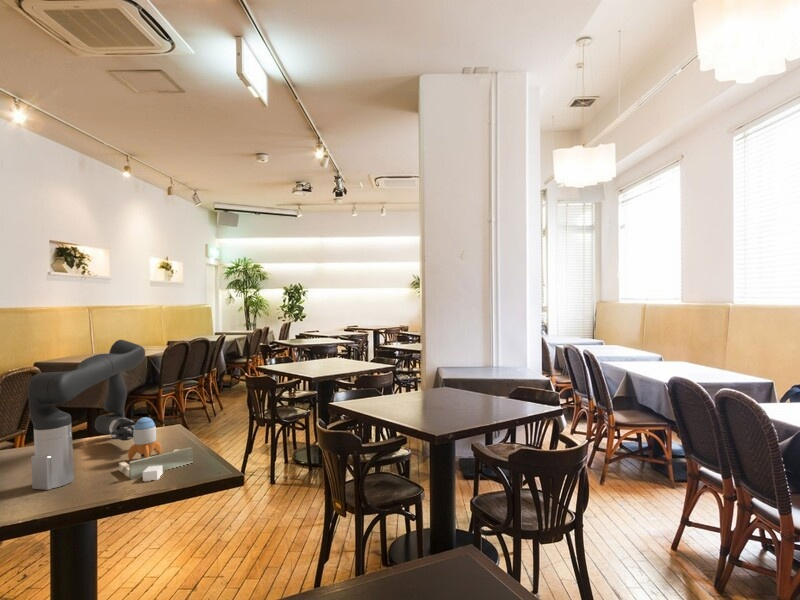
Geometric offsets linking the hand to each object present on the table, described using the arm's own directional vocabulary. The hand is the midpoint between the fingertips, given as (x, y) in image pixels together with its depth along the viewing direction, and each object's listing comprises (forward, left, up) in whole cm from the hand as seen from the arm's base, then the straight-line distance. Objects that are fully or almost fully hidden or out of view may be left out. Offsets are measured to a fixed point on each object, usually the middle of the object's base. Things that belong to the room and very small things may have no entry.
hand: (138, 435), depth 170 cm
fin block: (-19, -23, -7) cm, 31 cm away
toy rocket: (-3, -5, -7) cm, 9 cm away
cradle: (-10, -16, -7) cm, 20 cm away
